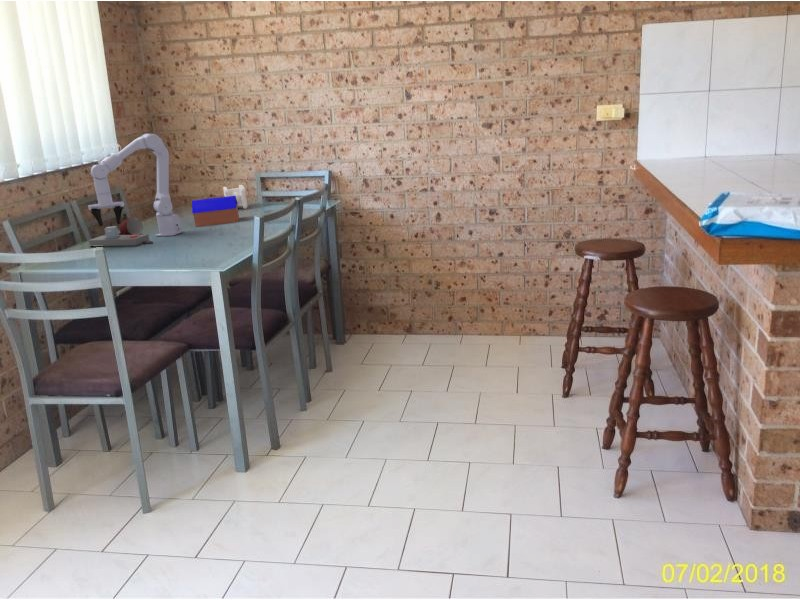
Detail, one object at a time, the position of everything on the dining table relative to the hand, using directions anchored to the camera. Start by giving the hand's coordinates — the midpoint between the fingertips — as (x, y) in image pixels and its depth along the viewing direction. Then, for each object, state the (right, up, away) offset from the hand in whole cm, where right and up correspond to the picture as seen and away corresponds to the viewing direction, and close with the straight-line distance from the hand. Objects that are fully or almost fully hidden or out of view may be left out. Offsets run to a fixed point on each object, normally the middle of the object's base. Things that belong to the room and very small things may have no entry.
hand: (110, 224), depth 319 cm
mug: (-3, -1, +21) cm, 21 cm away
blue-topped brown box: (+38, +4, +33) cm, 50 cm away
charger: (+1, -8, +2) cm, 8 cm away
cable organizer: (+40, +15, +67) cm, 79 cm away
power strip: (+6, -8, +1) cm, 10 cm away
